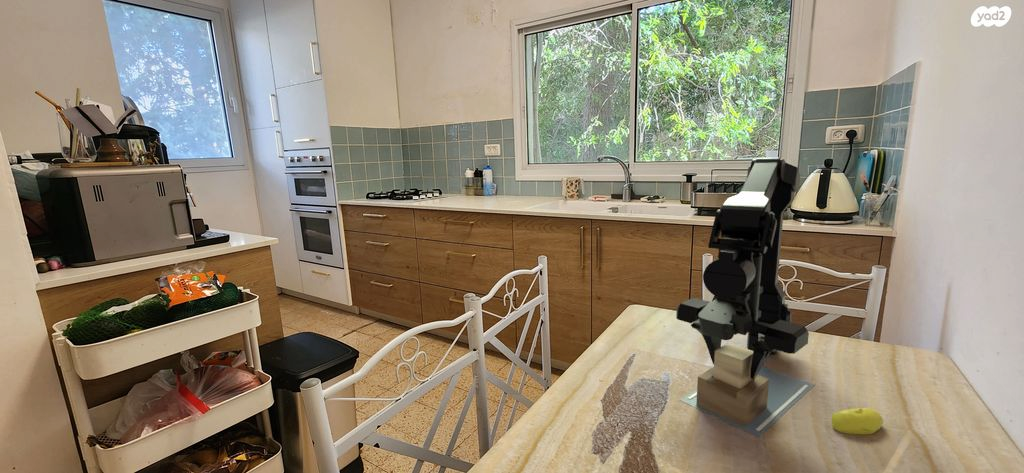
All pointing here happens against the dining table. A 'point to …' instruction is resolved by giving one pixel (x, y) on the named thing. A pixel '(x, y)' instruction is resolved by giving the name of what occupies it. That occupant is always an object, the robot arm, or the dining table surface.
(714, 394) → the base block
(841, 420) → the yellow oval piece
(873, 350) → the dining table surface
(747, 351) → the oak block
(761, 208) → the robot arm
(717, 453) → the dining table surface
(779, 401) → the board
